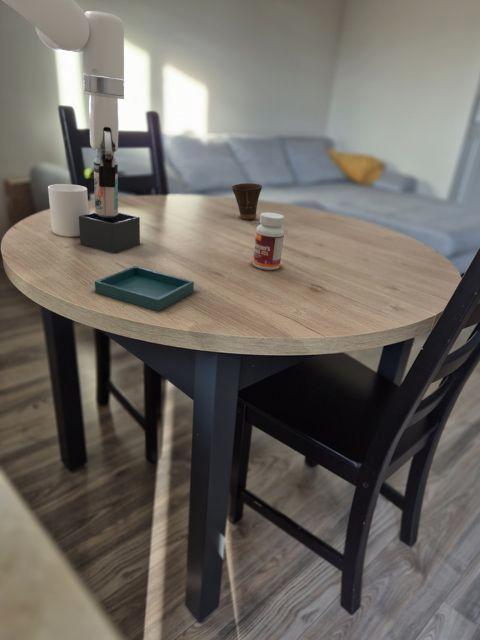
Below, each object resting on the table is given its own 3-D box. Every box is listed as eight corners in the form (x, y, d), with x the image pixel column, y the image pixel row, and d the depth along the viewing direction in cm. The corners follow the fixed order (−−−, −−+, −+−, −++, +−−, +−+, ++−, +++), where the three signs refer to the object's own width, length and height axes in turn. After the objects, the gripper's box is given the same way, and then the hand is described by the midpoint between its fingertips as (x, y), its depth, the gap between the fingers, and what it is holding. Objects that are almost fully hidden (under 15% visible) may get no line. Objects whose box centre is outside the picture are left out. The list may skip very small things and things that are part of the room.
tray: (95, 292, 84) (94, 281, 83) (135, 275, 93) (134, 265, 92) (158, 311, 80) (158, 300, 79) (193, 291, 89) (194, 281, 88)
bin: (80, 244, 107) (78, 215, 104) (108, 236, 114) (107, 209, 112) (113, 253, 104) (112, 224, 101) (140, 244, 112) (139, 217, 109)
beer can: (93, 212, 106) (91, 155, 101) (114, 213, 109) (114, 156, 103) (98, 218, 103) (96, 158, 97) (120, 218, 105) (120, 160, 100)
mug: (45, 224, 117) (40, 180, 113) (80, 223, 122) (77, 181, 117) (56, 238, 109) (52, 191, 104) (94, 236, 113) (91, 191, 108)
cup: (223, 215, 147) (226, 181, 142) (246, 214, 152) (249, 181, 148) (241, 222, 141) (244, 187, 136) (264, 220, 147) (268, 186, 142)
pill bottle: (247, 265, 107) (252, 213, 101) (262, 259, 111) (267, 210, 106) (270, 272, 104) (276, 220, 99) (284, 266, 109) (291, 216, 103)
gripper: (81, 84, 100) (85, 176, 108) (86, 86, 86) (90, 191, 95) (119, 89, 103) (119, 178, 111) (129, 92, 89) (129, 193, 97)
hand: (106, 183), depth 103 cm, fingers closed on beer can, 4 cm apart
